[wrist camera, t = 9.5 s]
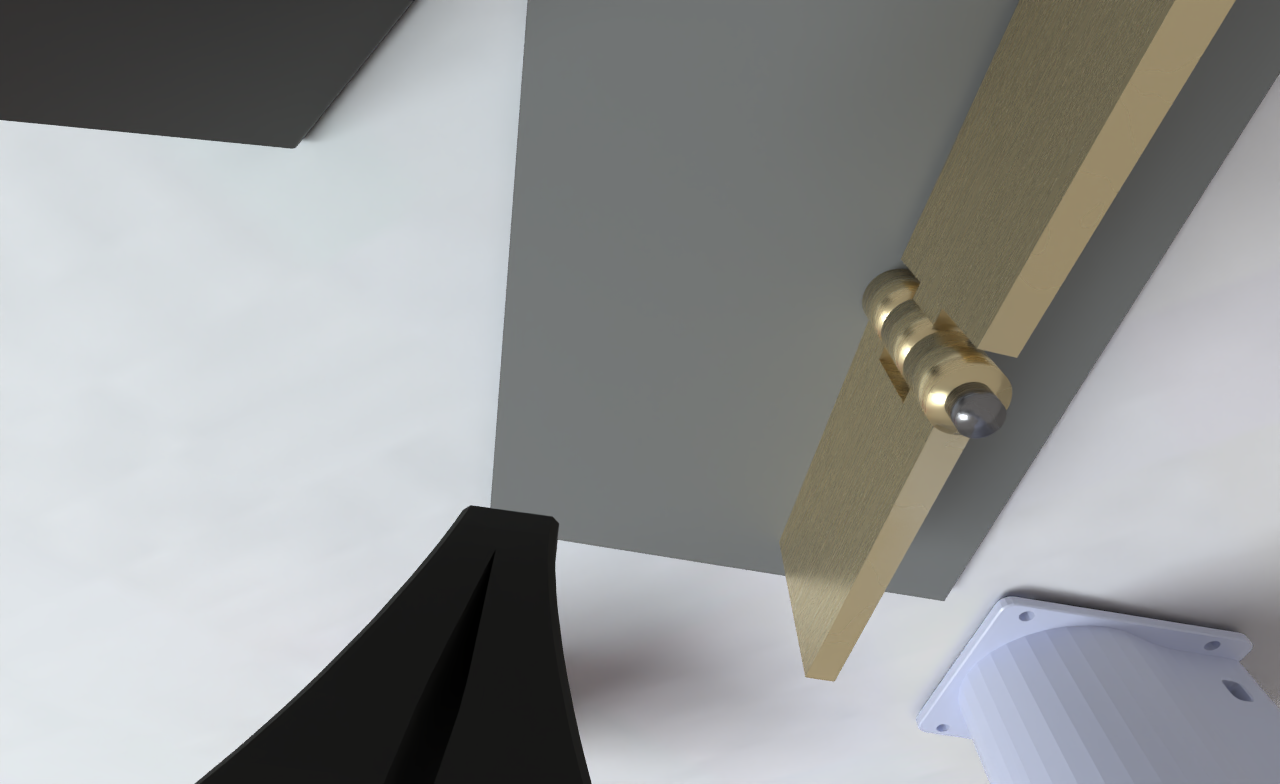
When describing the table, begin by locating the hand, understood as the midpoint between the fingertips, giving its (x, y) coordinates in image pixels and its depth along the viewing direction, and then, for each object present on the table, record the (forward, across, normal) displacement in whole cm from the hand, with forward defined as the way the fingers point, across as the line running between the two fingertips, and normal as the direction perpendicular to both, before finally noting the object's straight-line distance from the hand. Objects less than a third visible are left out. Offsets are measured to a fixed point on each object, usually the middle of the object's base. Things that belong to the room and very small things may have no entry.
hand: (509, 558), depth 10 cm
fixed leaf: (+9, -8, +2) cm, 12 cm away
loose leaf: (+9, -8, -6) cm, 13 cm away
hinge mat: (+9, -6, -2) cm, 11 cm away
